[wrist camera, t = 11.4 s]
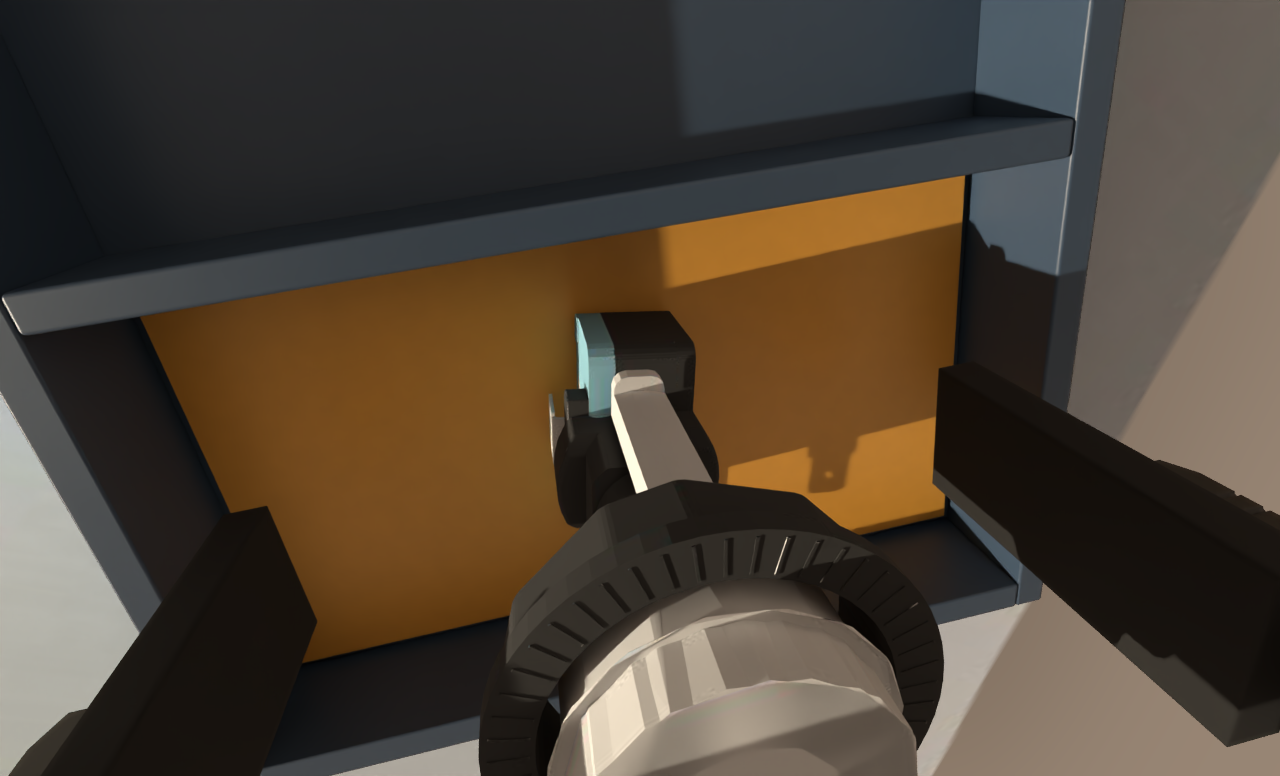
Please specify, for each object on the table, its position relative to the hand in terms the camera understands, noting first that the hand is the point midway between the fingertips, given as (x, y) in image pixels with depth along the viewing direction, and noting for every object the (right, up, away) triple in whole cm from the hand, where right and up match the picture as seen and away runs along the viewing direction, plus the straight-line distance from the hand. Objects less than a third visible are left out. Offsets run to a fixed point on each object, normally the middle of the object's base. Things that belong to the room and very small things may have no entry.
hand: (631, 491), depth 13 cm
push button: (-1, +1, +3) cm, 3 cm away
